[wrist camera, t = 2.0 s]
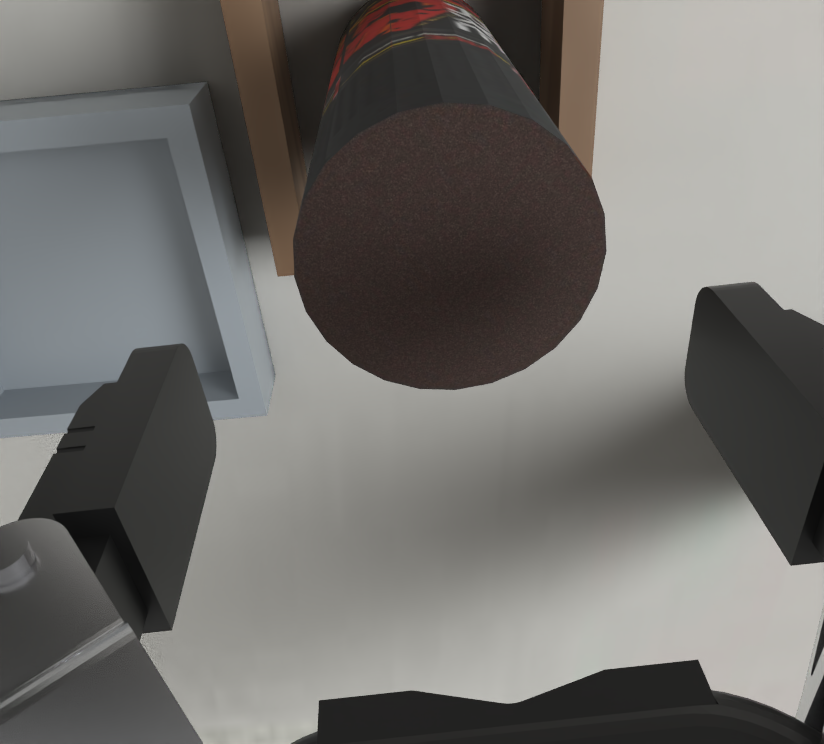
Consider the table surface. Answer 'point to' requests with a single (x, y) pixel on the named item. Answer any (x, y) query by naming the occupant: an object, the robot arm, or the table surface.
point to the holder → (277, 118)
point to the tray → (120, 253)
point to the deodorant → (441, 205)
